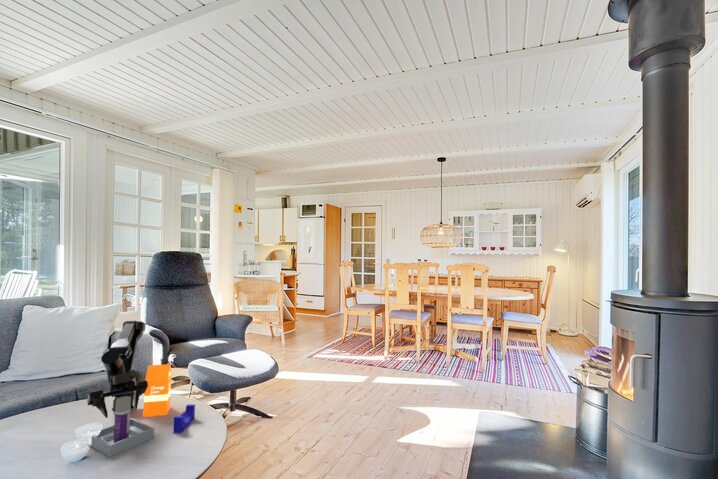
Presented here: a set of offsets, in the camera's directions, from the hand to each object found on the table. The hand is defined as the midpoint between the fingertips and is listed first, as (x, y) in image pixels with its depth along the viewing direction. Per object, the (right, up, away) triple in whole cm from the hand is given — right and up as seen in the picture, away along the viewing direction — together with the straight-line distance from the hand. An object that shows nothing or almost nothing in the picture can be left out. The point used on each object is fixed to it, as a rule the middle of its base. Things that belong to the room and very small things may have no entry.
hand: (121, 413), depth 132 cm
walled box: (+1, -9, -2) cm, 9 cm away
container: (+1, -9, -2) cm, 9 cm away
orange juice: (+1, -10, +22) cm, 24 cm away
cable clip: (+17, -10, +10) cm, 23 cm away
